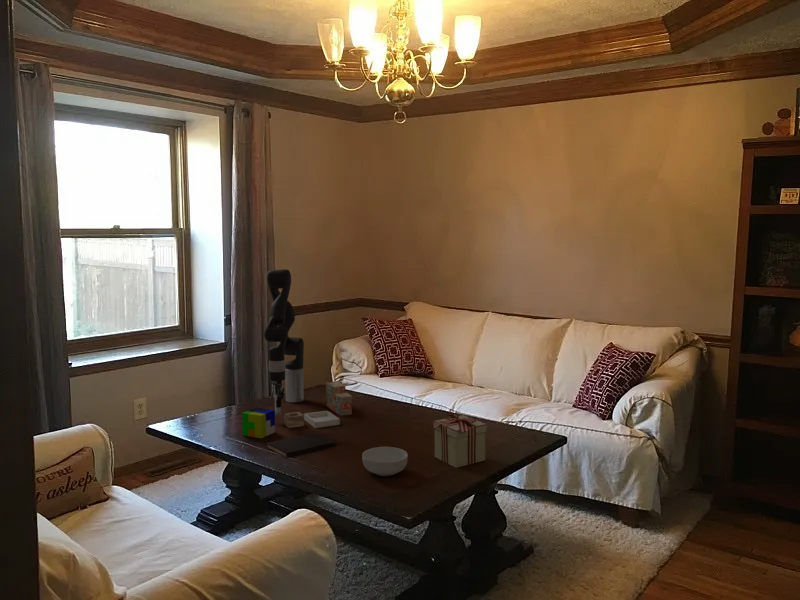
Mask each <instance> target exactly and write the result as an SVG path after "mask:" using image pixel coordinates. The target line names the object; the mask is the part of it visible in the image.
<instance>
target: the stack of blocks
mask: <svg viewBox="0 0 800 600" xmlns="http://www.w3.org/2000/svg"><path fill="white" fill-rule="evenodd" d="M325 397H326V398H325V399H326V400H325V402H326V403H325V405H326V407H327V408H329V409H330V410H332V411H333V412H334V413H336V414H337V415H339V416H341V417H342V416H350V415H352V414H353V410H352V409H353V395H351V394H350V393H348V392H347V391H346V385H345V384H343V383H341V382H339V381H329V382H328V381H327V382H325Z"/></svg>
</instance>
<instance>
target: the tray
mask: <svg viewBox="0 0 800 600" xmlns="http://www.w3.org/2000/svg"><path fill="white" fill-rule="evenodd" d="M303 415H304V421H306V422H307V424H308V423H309V425H311V426H312V427H313V428H314V429H317V428H325V427H333V426H339V425H341V419H340V418H339V417H338V416H336V415H334V414H333V413H332V412H330V411H328V410H323V411H314V412H306V413H303Z"/></svg>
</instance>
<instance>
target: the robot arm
mask: <svg viewBox="0 0 800 600" xmlns="http://www.w3.org/2000/svg"><path fill="white" fill-rule="evenodd" d="M266 280H267V281H266V282H267V286H268V289H269V292H270V295H271V298H272V304H271V306H270V310H269V320H268V323H267V325H266V327H265V330H264V332H263V333H264V334H263V336H264V337H263V338H264V339H265V341H266V342H268V343H278V342H279V344H278V345H275V346H274V345H273V346H272V347H269V349H268V380H269V381H270V388H271V389H270V390H271V395H272V397H273V405H274V406H275V394H276V407H277V408H278V407H282V399H284V395H285V402H287V403H300V402H303V401H304V354H305V353H304V350H305V344H304V343H305V342H304V339H303V338H302V337H289V332H290V330H291V328H292V327H293V325H294V322H295V320H296V315H295V309H294V306H293V305H292V303H291V302H290V301H289V300H288V299H289V296H290V291H291V285H292V275H291V272H290V270H289V269H286V268H285V269H271V270H269V271H267V274H266ZM280 290H281V291H280ZM285 356H295V358H294V359H293V360H290V361H287V362H285V361H286V360H285ZM283 381H285V388H284V384H283ZM277 392H278V393H277ZM284 392H285V393H284Z"/></svg>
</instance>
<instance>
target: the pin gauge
mask: <svg viewBox="0 0 800 600" xmlns="http://www.w3.org/2000/svg"><path fill="white" fill-rule="evenodd" d="M277 393H278V392H277ZM281 407H282V406H281ZM281 407H278V408H277V407H276V394H275V405H274V410H275V417H276V416H277V417H278V416H281V415H282V411H281Z"/></svg>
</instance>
